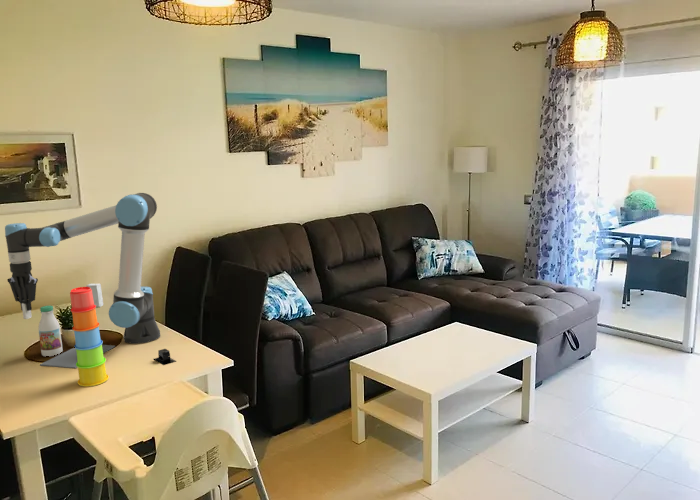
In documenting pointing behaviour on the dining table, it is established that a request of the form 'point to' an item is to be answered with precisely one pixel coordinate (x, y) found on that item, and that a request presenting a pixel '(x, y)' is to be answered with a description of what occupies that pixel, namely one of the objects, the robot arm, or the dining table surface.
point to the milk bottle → (49, 333)
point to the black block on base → (164, 357)
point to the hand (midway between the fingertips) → (27, 318)
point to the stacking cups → (87, 338)
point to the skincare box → (96, 294)
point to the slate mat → (69, 358)
